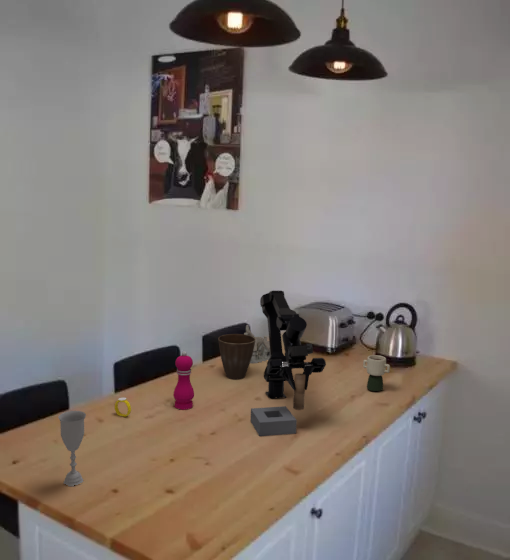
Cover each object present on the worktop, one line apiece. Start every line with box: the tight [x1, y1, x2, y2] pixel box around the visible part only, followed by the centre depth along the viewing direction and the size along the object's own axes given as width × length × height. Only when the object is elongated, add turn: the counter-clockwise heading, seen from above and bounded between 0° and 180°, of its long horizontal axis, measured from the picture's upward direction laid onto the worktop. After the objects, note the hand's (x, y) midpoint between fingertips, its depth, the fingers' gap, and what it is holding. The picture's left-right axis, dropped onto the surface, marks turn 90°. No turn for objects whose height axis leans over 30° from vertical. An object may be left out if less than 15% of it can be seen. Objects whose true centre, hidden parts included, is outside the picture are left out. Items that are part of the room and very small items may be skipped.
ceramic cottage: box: [243, 324, 271, 364], centre depth 272 cm, size 16×16×15 cm
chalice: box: [58, 410, 87, 487], centre depth 157 cm, size 7×7×18 cm
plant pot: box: [217, 333, 255, 380], centre depth 246 cm, size 15×15×16 cm
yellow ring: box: [114, 397, 132, 418], centre depth 203 cm, size 6×3×6 cm, turn 62°
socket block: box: [250, 405, 298, 437], centre depth 197 cm, size 12×12×4 cm
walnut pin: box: [292, 372, 306, 411], centre depth 195 cm, size 4×4×11 cm
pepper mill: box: [172, 350, 195, 411], centre depth 211 cm, size 7×7×20 cm
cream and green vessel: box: [362, 354, 391, 392], centre depth 235 cm, size 11×7×13 cm, turn 56°
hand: (300, 389), depth 194 cm, fingers closed on walnut pin, 3 cm apart
